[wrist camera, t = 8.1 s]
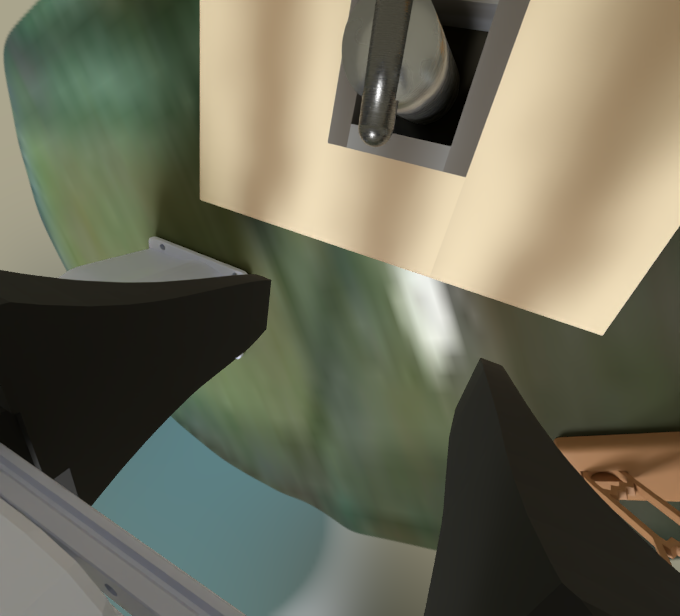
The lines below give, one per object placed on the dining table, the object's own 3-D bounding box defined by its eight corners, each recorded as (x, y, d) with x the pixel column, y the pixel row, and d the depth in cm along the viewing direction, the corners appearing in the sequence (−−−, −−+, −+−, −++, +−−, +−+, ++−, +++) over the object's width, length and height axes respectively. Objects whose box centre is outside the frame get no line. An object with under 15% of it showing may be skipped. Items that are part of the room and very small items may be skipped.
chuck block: (232, 195, 22) (199, 199, 20) (249, -166, 15) (199, -233, 12) (585, 309, 17) (602, 335, 14) (900, -180, 9) (1055, -310, 7)
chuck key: (386, 148, 18) (326, 140, 11) (409, 13, 15) (350, -92, 9) (442, 157, 17) (411, 152, 10) (477, 15, 14) (464, -102, 8)
